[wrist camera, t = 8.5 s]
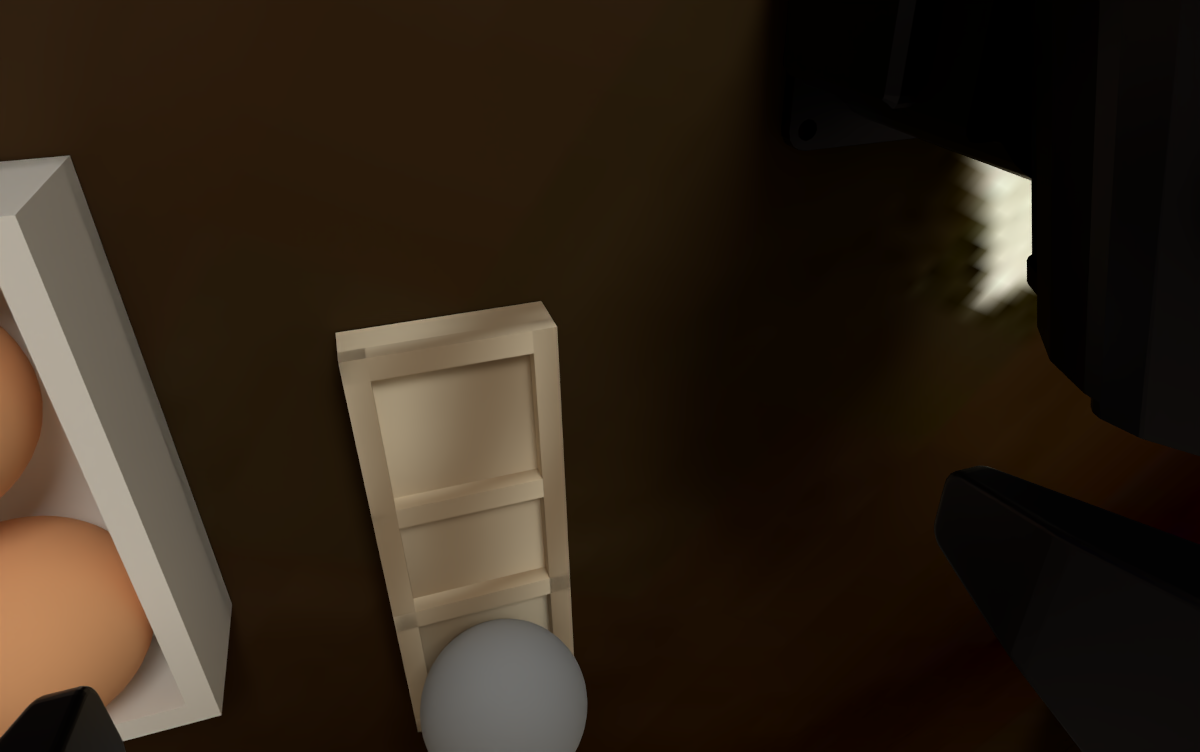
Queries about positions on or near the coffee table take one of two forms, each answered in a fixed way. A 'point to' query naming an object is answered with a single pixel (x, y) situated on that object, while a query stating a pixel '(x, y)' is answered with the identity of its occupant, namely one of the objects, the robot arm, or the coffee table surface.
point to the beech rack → (462, 473)
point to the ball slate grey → (504, 692)
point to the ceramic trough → (108, 443)
